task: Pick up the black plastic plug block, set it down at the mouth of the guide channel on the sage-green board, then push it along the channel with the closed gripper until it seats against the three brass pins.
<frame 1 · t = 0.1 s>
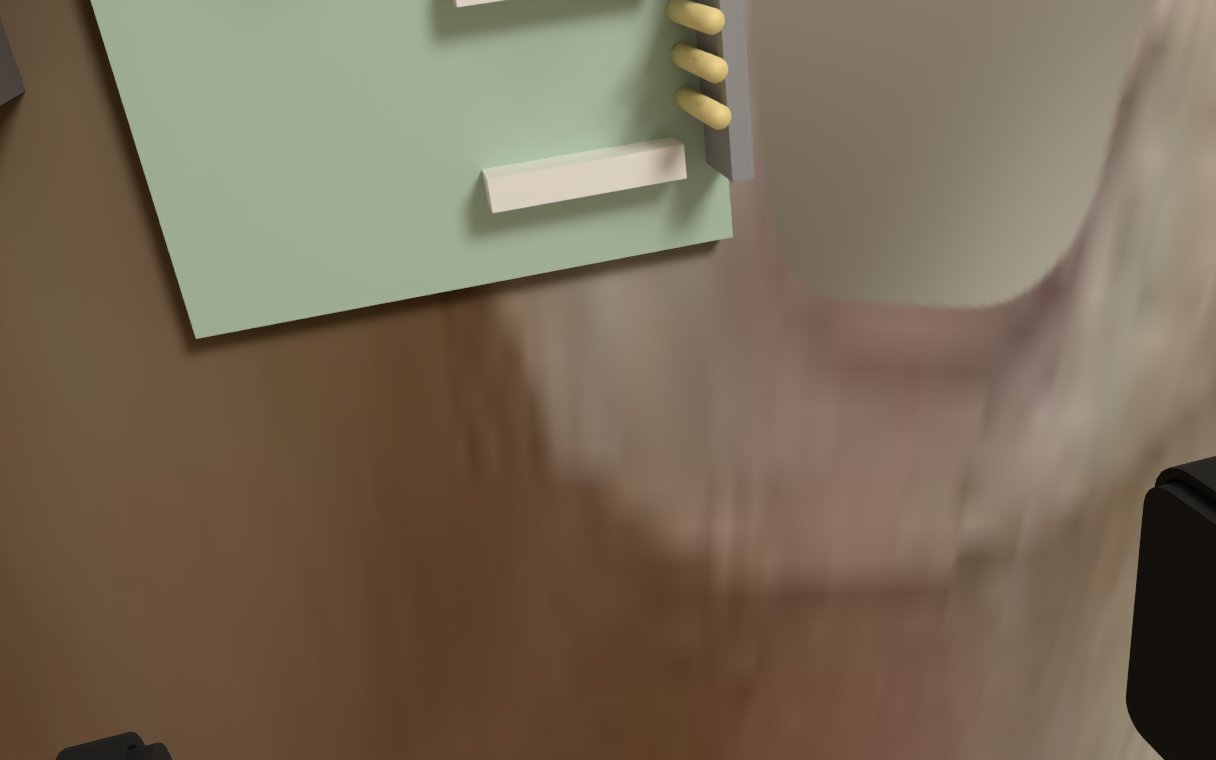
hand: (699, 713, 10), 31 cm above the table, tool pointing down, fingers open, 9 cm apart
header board: (436, 89, 37), on the table
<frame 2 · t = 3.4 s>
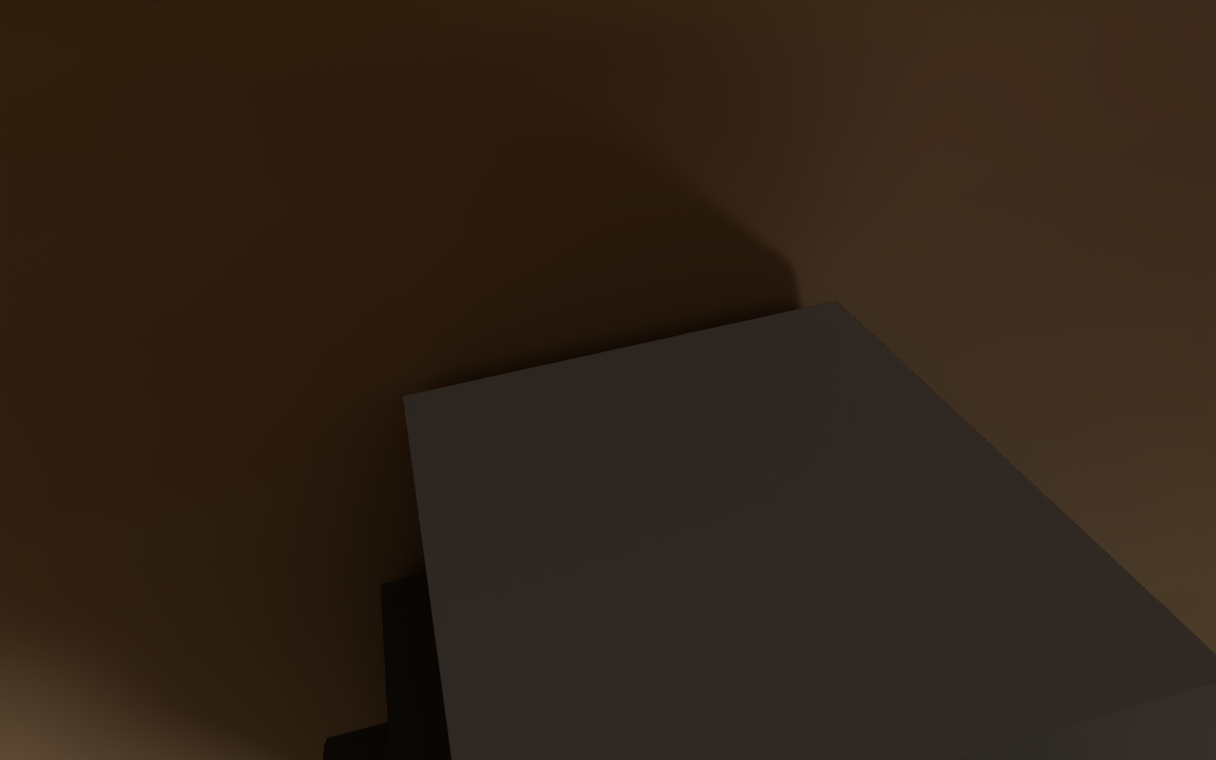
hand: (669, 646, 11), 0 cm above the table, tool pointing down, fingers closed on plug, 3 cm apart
plug: (659, 605, 11), on the table, touching gripper
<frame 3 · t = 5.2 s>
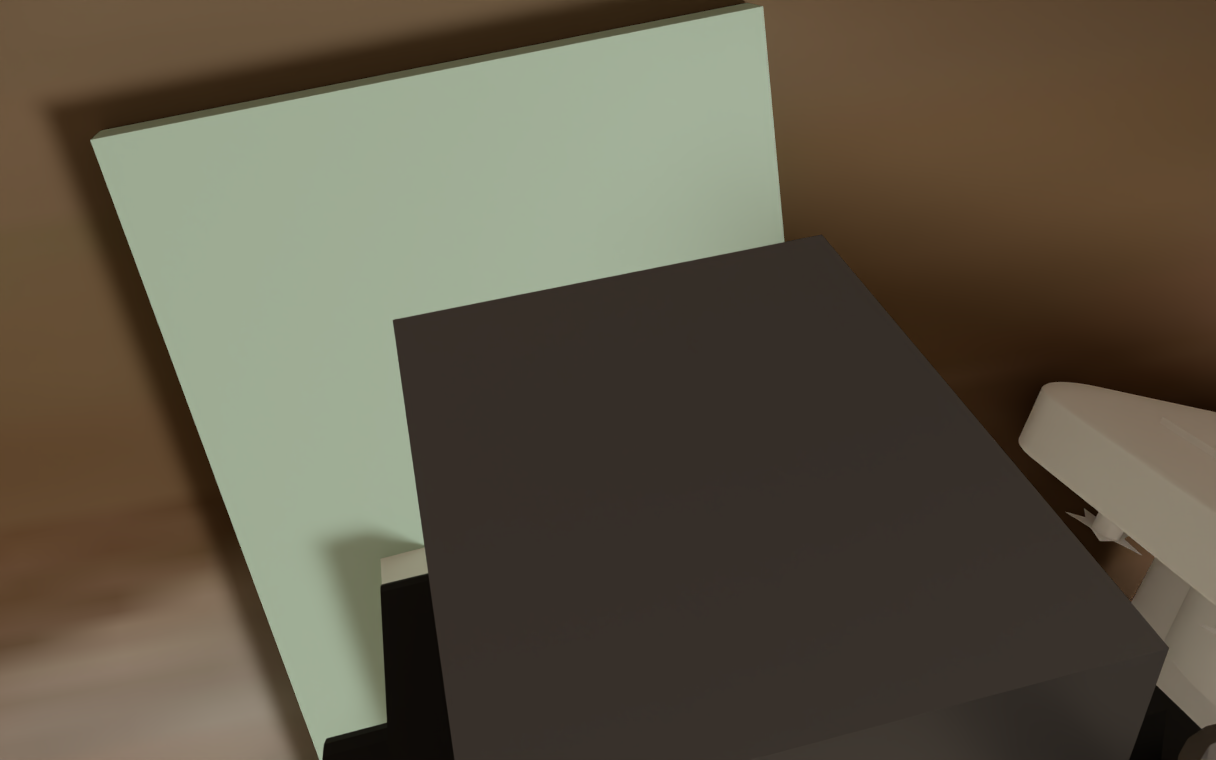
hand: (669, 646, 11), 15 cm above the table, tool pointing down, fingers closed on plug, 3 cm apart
cable organizer: (1137, 539, 33), on the table
plug: (635, 515, 11), point 14 cm above the table, tilted 12°, touching gripper
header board: (525, 464, 27), on the table
when the fingers open (3 cm above the table, at t = 7.0 s): plug stays where it is, resting on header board.
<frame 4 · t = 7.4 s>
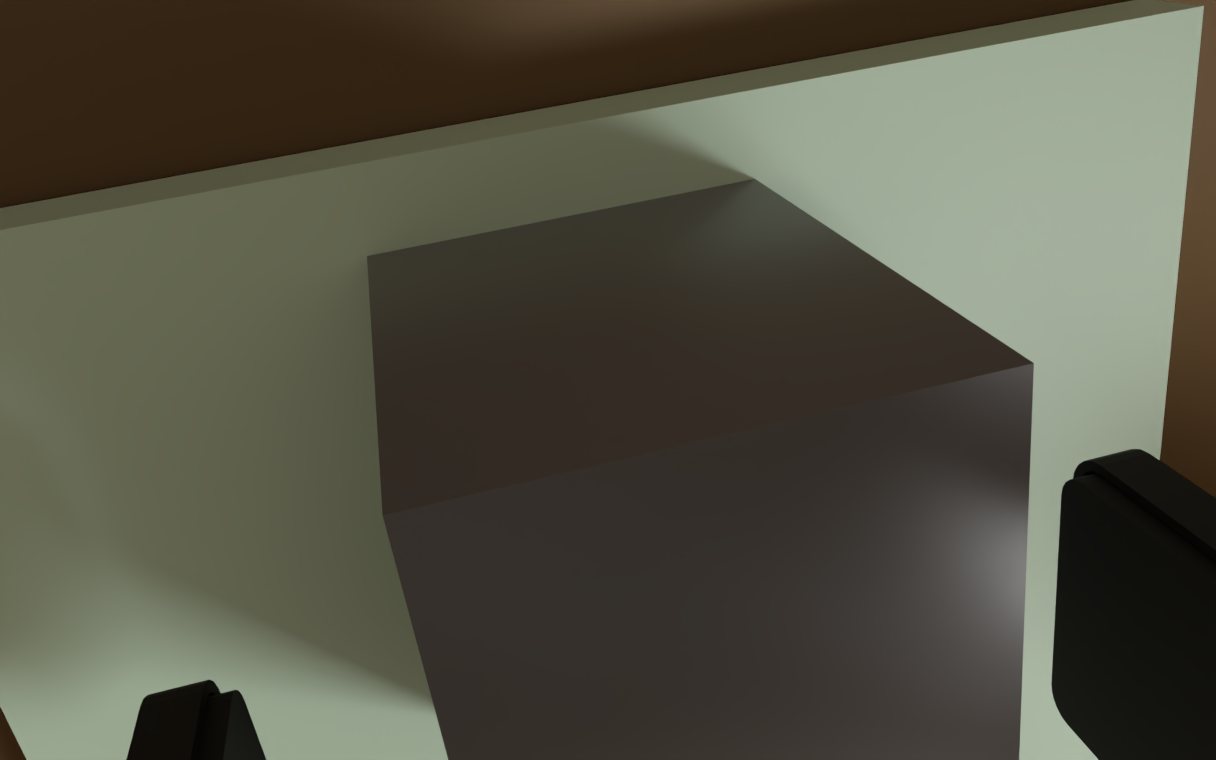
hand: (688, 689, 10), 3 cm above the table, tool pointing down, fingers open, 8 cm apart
plug: (607, 472, 12), point 1 cm above the table, touching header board
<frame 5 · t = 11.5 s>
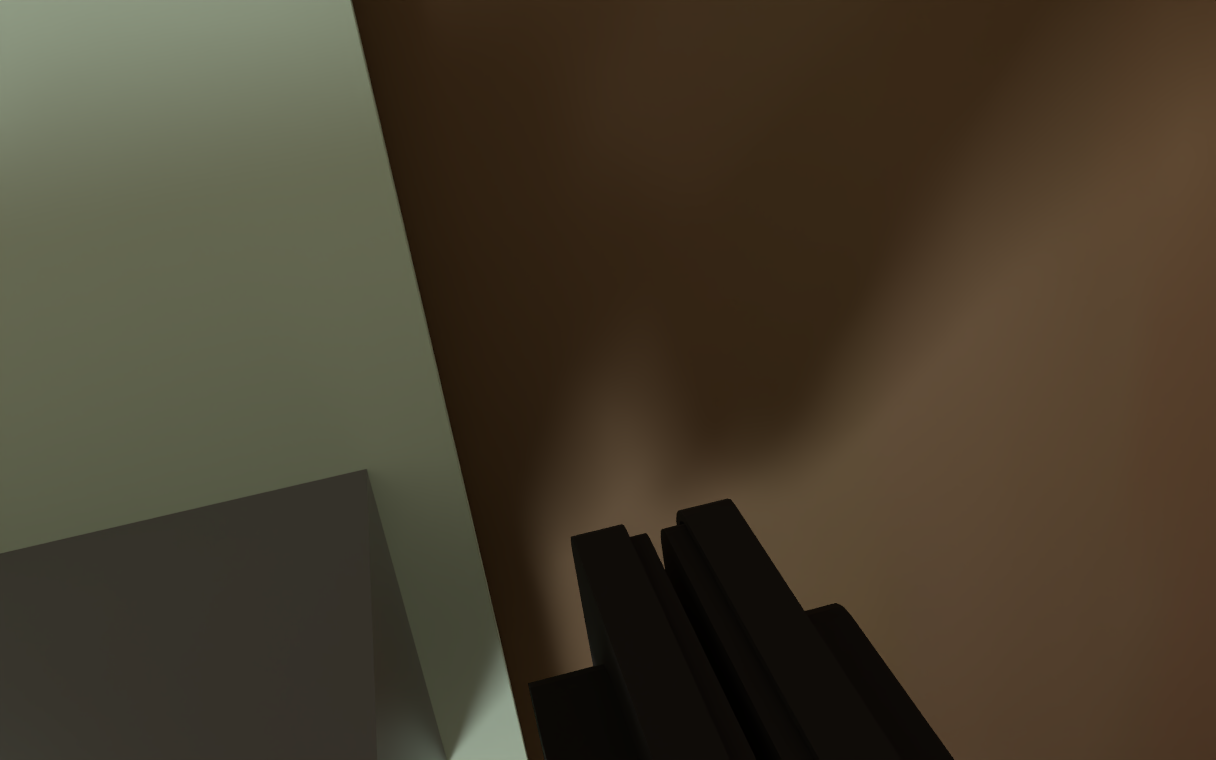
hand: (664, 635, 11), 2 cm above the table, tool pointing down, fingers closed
plug: (125, 699, 11), point 1 cm above the table, touching gripper, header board
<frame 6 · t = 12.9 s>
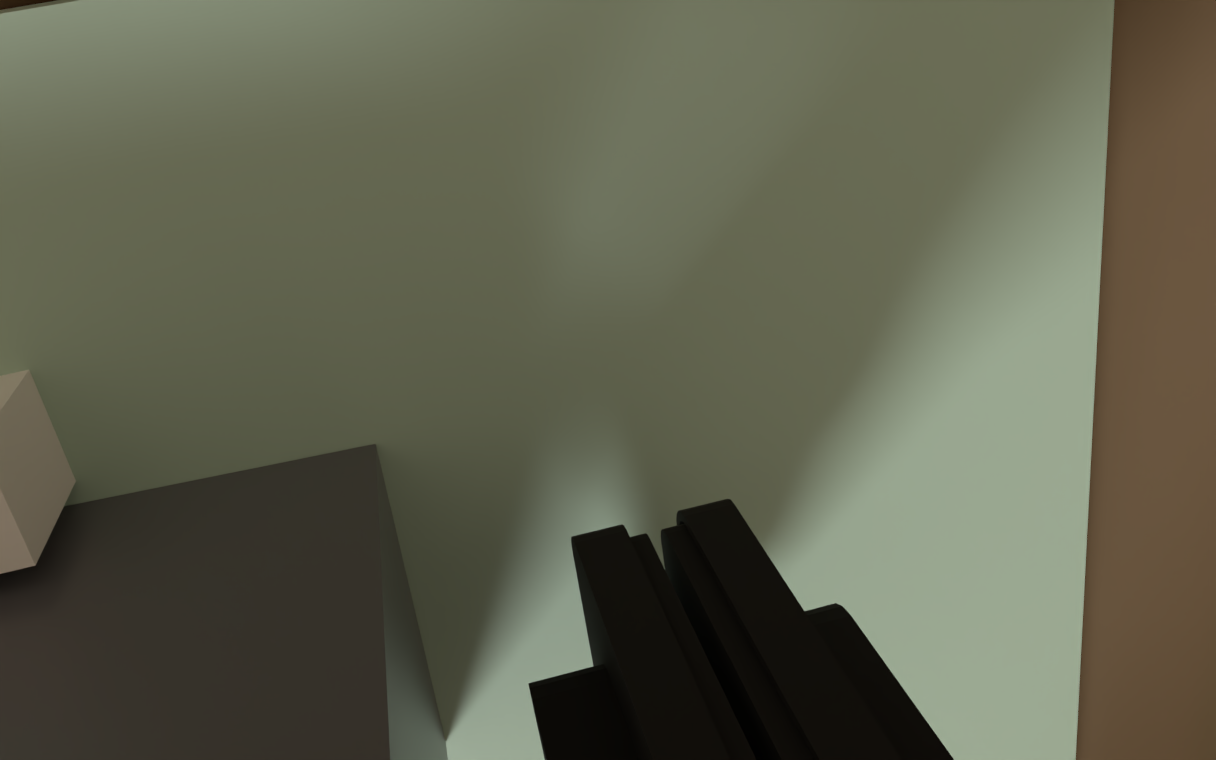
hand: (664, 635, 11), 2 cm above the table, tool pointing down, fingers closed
plug: (128, 667, 11), point 1 cm above the table, touching gripper, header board
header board: (268, 624, 13), on the table
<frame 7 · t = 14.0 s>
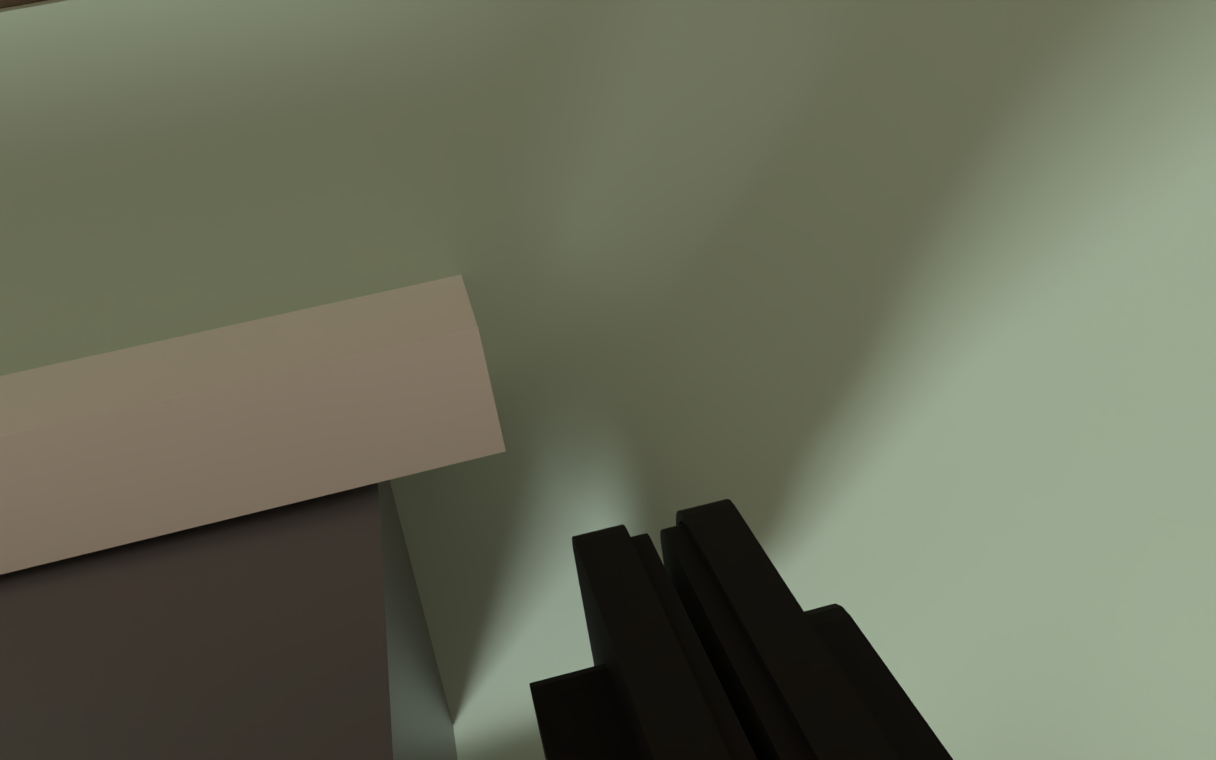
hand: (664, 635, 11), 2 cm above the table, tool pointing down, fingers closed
plug: (132, 655, 11), point 1 cm above the table, touching gripper, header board
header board: (602, 537, 13), on the table
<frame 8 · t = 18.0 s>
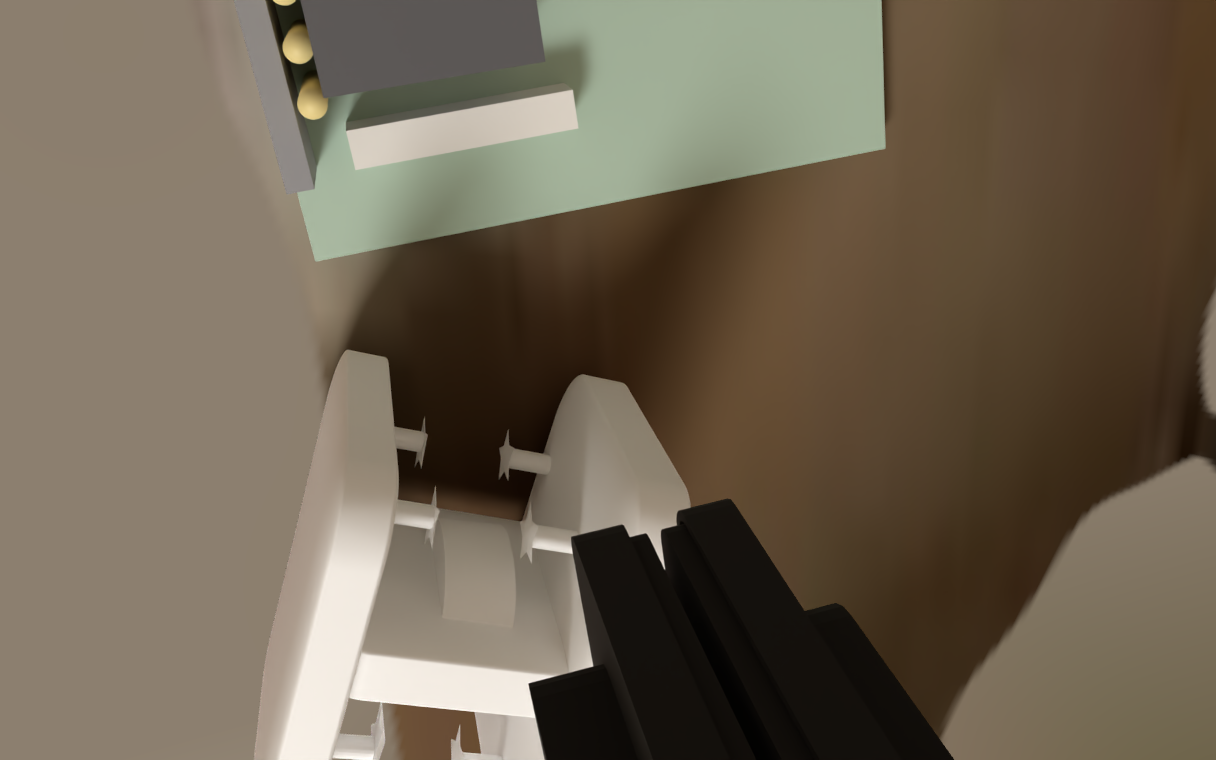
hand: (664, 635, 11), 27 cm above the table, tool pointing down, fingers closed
cable organizer: (440, 511, 41), on the table
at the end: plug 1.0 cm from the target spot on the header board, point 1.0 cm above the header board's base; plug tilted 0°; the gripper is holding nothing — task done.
